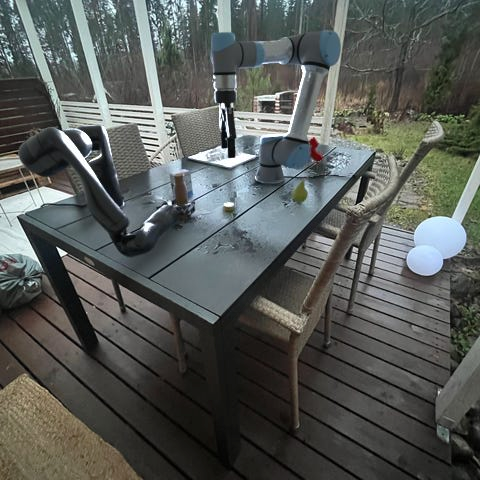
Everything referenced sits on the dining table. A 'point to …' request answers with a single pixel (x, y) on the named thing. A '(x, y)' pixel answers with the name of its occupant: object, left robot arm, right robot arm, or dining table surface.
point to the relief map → (222, 157)
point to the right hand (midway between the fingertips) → (228, 152)
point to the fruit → (300, 192)
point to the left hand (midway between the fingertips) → (184, 200)
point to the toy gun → (314, 153)
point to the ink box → (186, 179)
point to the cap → (228, 206)
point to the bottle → (180, 192)
